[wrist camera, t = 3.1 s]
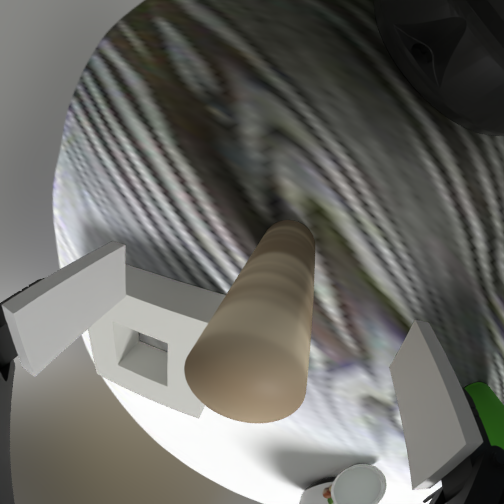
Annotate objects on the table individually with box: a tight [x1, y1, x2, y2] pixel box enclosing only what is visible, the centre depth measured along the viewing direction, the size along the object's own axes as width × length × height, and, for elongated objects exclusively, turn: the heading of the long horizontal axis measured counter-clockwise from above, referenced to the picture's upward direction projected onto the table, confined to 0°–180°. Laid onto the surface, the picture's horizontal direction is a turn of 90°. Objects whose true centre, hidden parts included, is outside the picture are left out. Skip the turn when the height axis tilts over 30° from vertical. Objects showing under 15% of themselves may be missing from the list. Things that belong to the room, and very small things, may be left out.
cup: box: [465, 382, 504, 450], centre depth 16 cm, size 9×9×11 cm
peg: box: [184, 220, 315, 423], centre depth 14 cm, size 4×4×13 cm
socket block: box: [88, 264, 226, 418], centre depth 23 cm, size 11×11×4 cm
